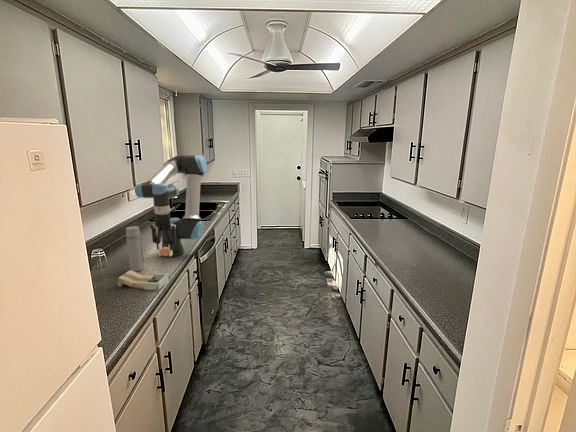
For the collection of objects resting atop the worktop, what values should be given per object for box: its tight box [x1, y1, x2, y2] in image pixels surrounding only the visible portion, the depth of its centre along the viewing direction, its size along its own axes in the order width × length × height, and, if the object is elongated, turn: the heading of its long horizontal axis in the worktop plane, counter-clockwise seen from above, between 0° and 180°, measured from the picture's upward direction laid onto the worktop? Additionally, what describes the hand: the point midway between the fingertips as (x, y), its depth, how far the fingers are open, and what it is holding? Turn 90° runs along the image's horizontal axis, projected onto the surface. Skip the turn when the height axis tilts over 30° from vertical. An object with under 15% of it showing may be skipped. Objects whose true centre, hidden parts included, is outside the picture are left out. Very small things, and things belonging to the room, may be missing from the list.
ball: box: [160, 247, 169, 257], centre depth 173 cm, size 5×5×5 cm
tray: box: [142, 272, 170, 291], centre depth 167 cm, size 12×8×4 cm, turn 174°
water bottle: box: [125, 225, 147, 273], centre depth 183 cm, size 9×8×25 cm
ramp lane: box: [117, 269, 156, 289], centre depth 168 cm, size 10×14×5 cm
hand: (165, 255), depth 174 cm, fingers closed on ball, 5 cm apart
